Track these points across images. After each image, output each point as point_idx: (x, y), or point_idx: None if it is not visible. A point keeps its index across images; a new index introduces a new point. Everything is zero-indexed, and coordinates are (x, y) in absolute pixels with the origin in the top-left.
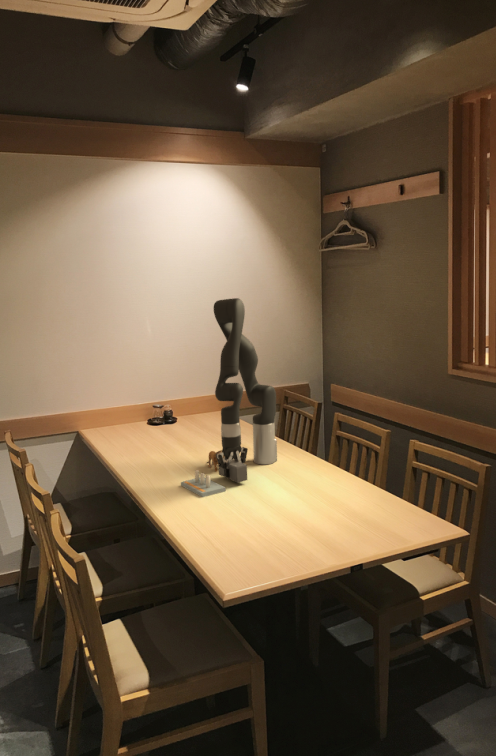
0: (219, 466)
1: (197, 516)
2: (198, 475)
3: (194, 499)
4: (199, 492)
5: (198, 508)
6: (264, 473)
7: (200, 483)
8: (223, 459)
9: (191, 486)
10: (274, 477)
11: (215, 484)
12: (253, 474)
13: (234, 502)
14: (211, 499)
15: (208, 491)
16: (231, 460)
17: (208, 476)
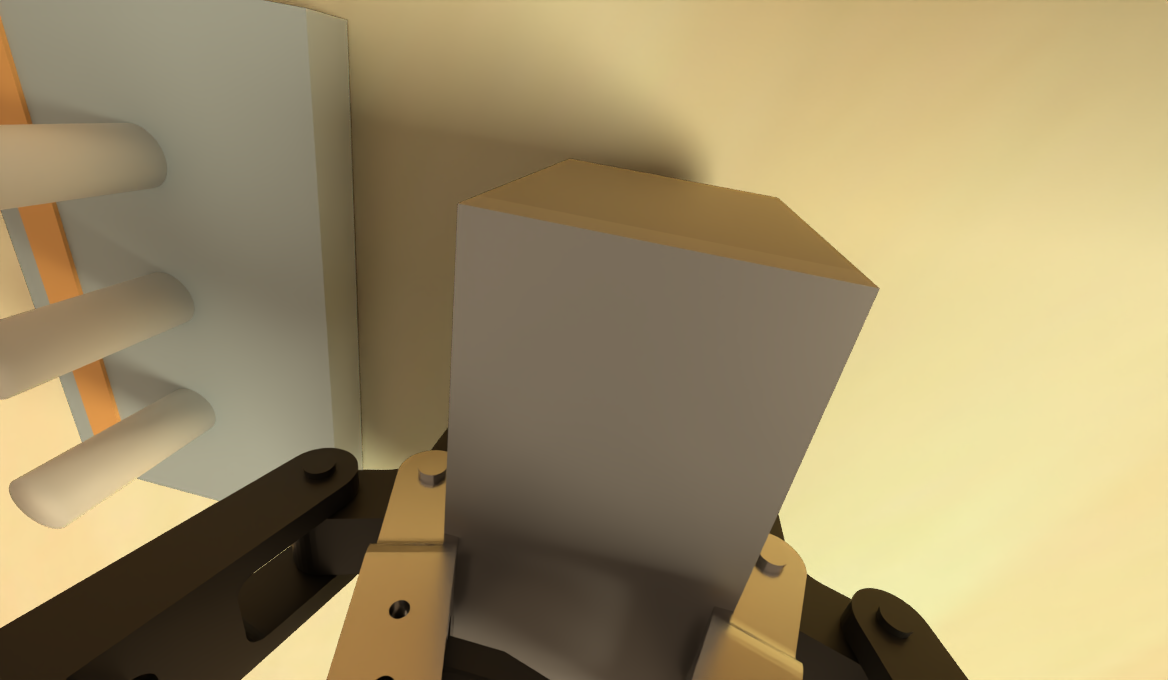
0: (297, 468)
1: (14, 604)
2: (30, 204)
3: (54, 422)
4: (83, 416)
5: (45, 546)
6: (1131, 520)
7: (155, 246)
8: (582, 331)
9: (26, 237)
10: (1010, 657)
11: (298, 411)
12: (1016, 434)
13: (297, 657)
14: (180, 521)
15: (154, 480)
16: (658, 550)
17: (43, 518)
